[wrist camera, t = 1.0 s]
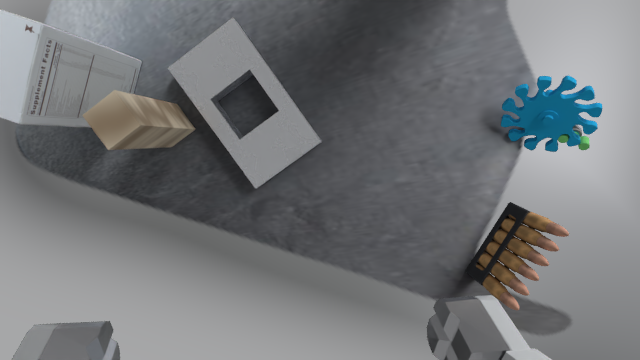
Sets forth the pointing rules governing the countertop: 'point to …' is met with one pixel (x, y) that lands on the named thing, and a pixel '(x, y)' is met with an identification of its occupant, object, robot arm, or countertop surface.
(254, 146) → the block with square hole
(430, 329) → the robot arm
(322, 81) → the countertop surface
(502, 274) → the ammunition clip
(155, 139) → the square peg
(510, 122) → the gear
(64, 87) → the supplement box
